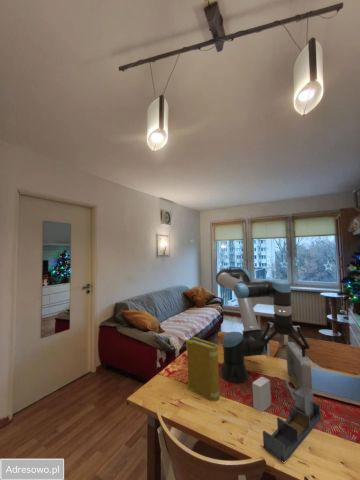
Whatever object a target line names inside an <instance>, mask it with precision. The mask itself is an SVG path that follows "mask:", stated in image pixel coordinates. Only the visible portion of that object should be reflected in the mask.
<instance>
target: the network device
mask: <svg viewBox="0 0 360 480" xmlns="http://www.w3.org/2000/svg"><path fill="white" fill-rule="evenodd" d="M285 350H286V367H287V369H286V371H287V375H288V378H289V379H286V380H285V385H286V386H287V390H288V392H289V393H290V395H291V397H292V400H293V402H295V392H296V391H297V390H298V389H299V388H300V387H301V386H303V385H304V386H306V387H308V388H310V389H313V383H312V382H313V381H312V367H311V364H310V362H309V361H308V358H306V356H305V357H302V363H303V365H301V361H300V348H299V347H298V346H297V345H296V344H295V341H294V342H292V341H286V342H285ZM289 383H292V385H293V386H294V388H293V387H291V386H290V384H289Z"/></svg>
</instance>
